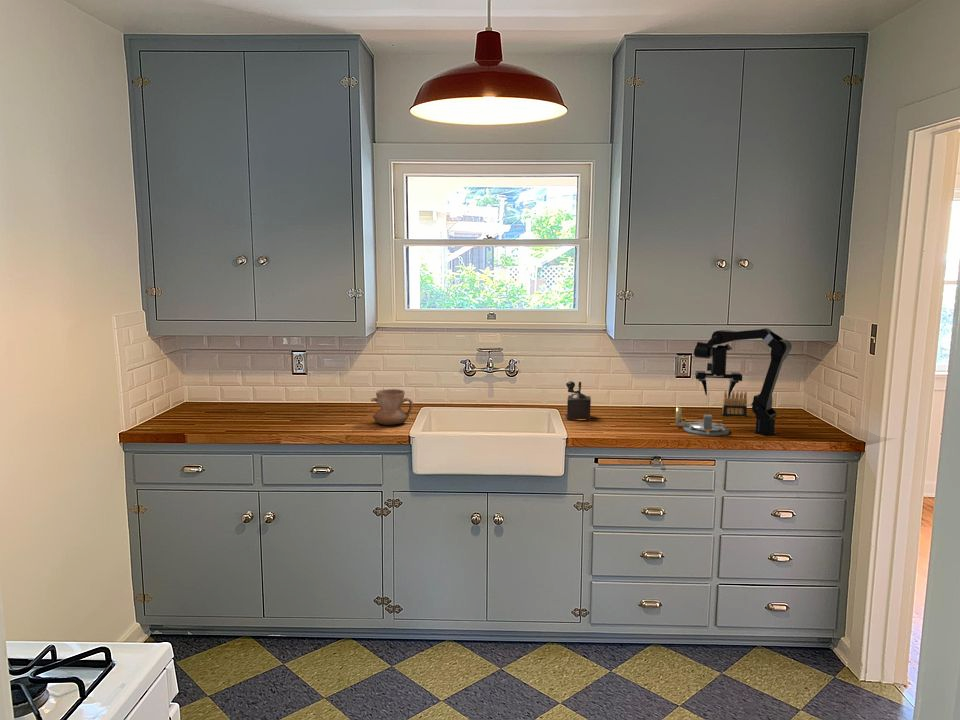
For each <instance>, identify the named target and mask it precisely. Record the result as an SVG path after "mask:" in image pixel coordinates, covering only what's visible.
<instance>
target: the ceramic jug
mask: <svg viewBox="0 0 960 720" xmlns="http://www.w3.org/2000/svg"><path fill="white" fill-rule="evenodd" d="M405 393H406V391H405V390H404V389H399V388H398V389H397V388H388V389H386V388H385V389H381V390H377V391H376V392H375V396H376V397H372V398H370V402H375V403H377V404H379V406H380V409H379V410H377V411H376V412H375V413H373V414H372V418H373V420H374V421H375V423H377V424H380V425H382V424H383V426H397V425H400V424H403V423H405V422H406V421H407V420H408V418H409V417H410V413H411V412H412V410H413V407H414V402H413V400H412V398H409V397H405ZM404 397H405V398H404ZM405 402H408V403H409V408H408V410H407V412H406V411H405V410H403V409H402V408H401V407H402V405H403V404H404V403H405ZM396 424H397V425H396Z"/></svg>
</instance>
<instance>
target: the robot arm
mask: <svg viewBox="0 0 960 720" xmlns="http://www.w3.org/2000/svg"><path fill="white" fill-rule="evenodd" d="M755 339H756V340H757V339H761V340H763V341H764V342H765V344H766V345H767V346H768V347H769V348H770V363H769V366H768V369H767V371H766V375H765V378H764V382H763V385H762V387H761V390H760V393H757V394H756V395H754V396H753V400H752V402H751V404H750V406H751V411H752V412H753V413H754V415H755V417H756V421H755V430H754V431H753V433H754V432H755V433H754V434H758V433H760V434H759V435H762V434H764V436H766V435H768V436H772V434H773V435H776V434H777V432H776V431H775V426H776V419H775V418H776V417H777V415H778V413H777V412H776V410H775V409H774V408H773V393H774V389H775V386H776V384H777V380H778V377H779V375H780V371H781V369H782V366H783V363H784V362H785V360H786V359H787V357H788V356H789V354H790V352H791V350H792V347H793V346H792V342H790V341H789V340H788V339H784V338H783V337H781V336H780V335H778V334H777V333H775V332H774V331H772V330H771V329H770V328H766V327H765V328H759V329H749V330H739V331H738V330H737V331H736V330H729V329H727V330H726V329H720V330H716V331H713V333H712V334H711V338H710V339H709V340H708V341H707V342H702V341H697V342H696V345H695V347H694V350H693V355H694V358H698V359H699V358H701V359H710V358H711V357H712V358H711V360H712V361H711V362H709V363H708V362H707V363H706V371H703V370H696V371H695V372H694V378H695V379H696V380H698V381H699V382H701V384H702V386H703V387H702V388H703V391H704V394H705V396H708V387H707V379H706V378H709V379H711V378H712V379H729V386H728V390H727V391H728V392H727V397H728V396H730V394H731V395H732V392H733V389H734V388H735V386H736V384H740V382H743V375H742V373H741V372H733V371H732V372H731V373H726V372H727V358H728V356H727V355H728V351H731V350H733V348H732V346H730V344H729V343H730V342H734V341H743V340H755ZM722 344H724V345H722ZM708 372H710V373H708Z"/></svg>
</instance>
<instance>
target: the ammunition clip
mask: <svg viewBox="0 0 960 720" xmlns="http://www.w3.org/2000/svg"><path fill="white" fill-rule="evenodd" d="M721 416H722V417H728V416H747V417H748V395H747V390H745V391H744V393H743V390H741V391H740V393H739V390H736V393H735V391H734V390H733V389H732V392H731V394H730V396H728V392H727V390H726V389H725V390H724V392H723V399H722V409H721Z"/></svg>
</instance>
